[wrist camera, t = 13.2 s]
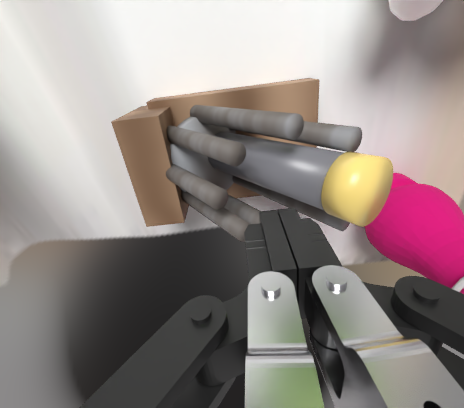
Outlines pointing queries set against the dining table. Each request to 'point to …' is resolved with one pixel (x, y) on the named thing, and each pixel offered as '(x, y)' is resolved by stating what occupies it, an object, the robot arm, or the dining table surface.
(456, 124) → the dining table surface
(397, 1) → the white knot
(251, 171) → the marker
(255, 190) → the knife block
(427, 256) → the pepper mill
